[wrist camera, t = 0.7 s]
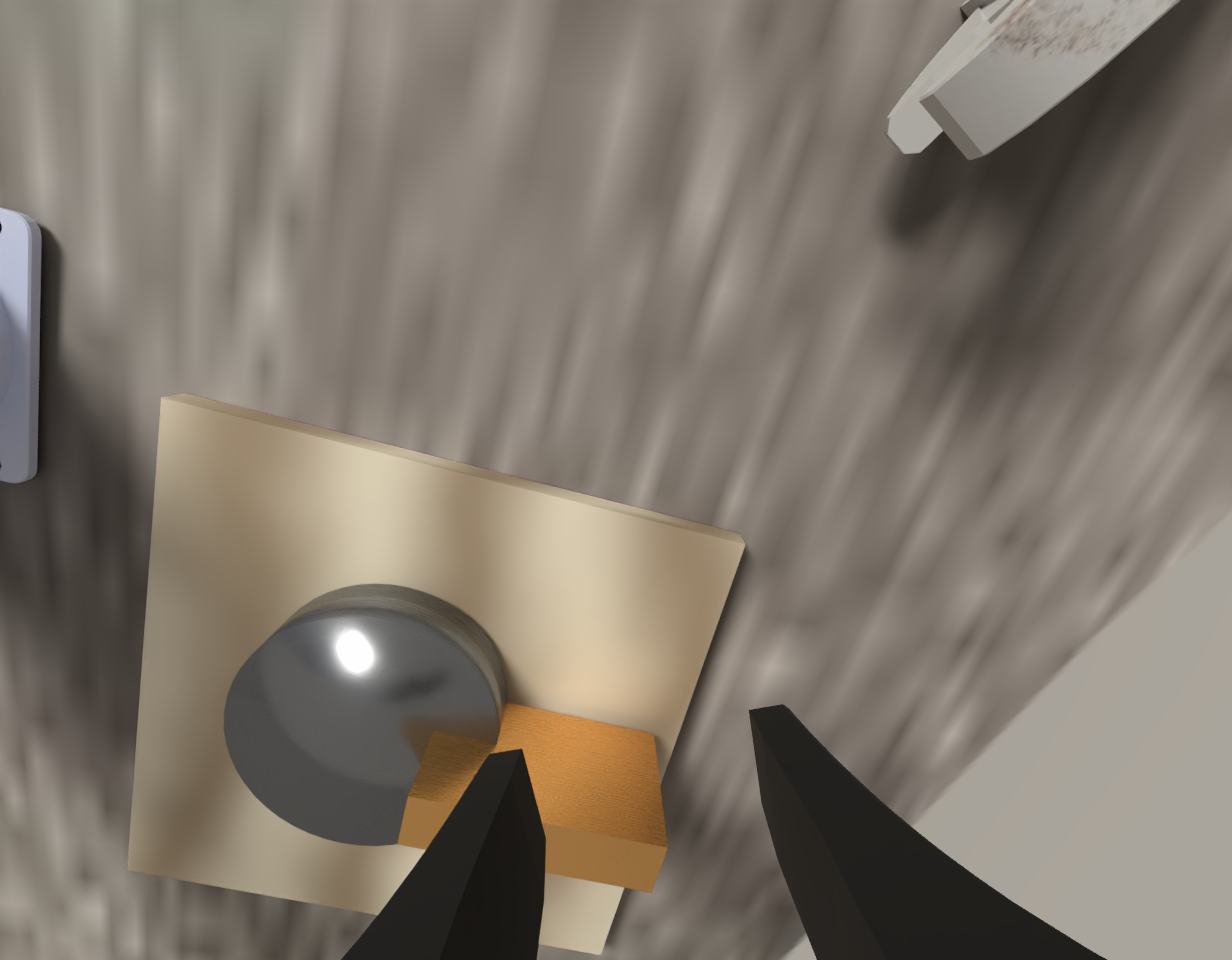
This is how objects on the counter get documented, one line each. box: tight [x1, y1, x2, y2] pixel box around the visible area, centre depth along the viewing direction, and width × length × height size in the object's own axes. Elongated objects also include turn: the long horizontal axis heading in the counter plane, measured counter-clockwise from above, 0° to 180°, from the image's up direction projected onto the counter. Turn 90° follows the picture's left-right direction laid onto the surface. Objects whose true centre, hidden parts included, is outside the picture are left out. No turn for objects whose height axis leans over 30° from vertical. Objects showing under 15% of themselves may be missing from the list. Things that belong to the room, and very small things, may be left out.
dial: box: [224, 584, 668, 893], centre depth 18 cm, size 13×8×5 cm, turn 75°
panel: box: [127, 393, 746, 955], centre depth 21 cm, size 18×18×1 cm
